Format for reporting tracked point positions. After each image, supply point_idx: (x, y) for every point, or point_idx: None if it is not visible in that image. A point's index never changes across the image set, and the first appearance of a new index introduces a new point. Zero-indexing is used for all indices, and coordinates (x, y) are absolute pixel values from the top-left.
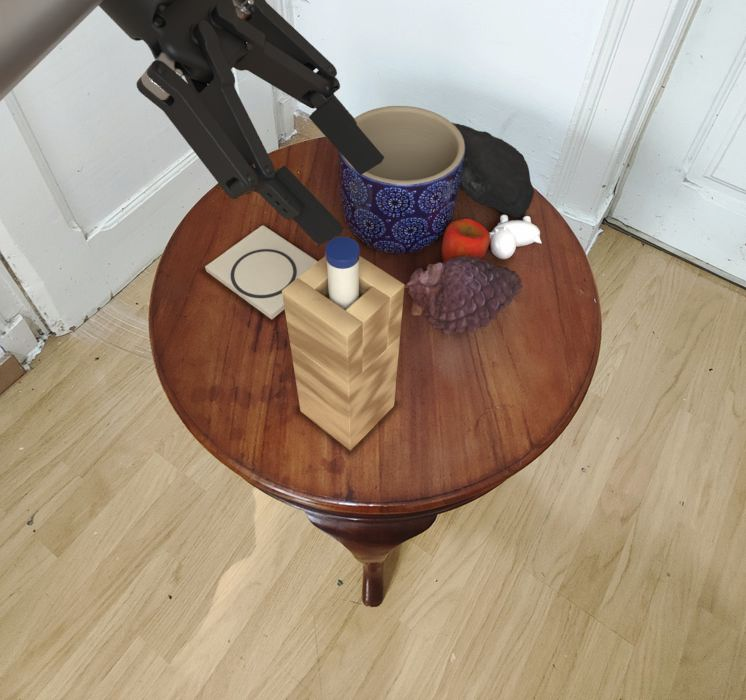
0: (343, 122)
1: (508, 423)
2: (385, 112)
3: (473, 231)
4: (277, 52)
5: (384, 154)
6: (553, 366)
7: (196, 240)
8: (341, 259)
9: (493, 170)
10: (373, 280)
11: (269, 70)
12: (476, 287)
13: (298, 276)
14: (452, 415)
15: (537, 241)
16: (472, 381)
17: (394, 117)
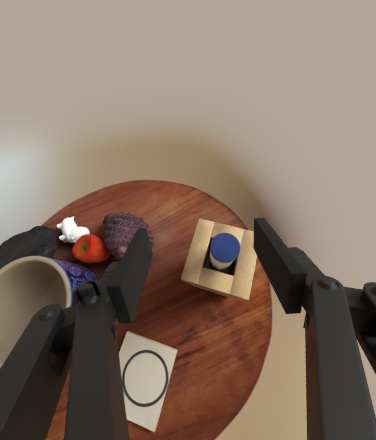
0: (132, 265)
1: (188, 200)
2: None
3: (82, 245)
4: (79, 427)
5: (17, 333)
6: (149, 192)
7: None
8: (237, 241)
9: (31, 243)
10: (205, 238)
11: (120, 424)
12: (131, 223)
13: (139, 349)
14: (195, 223)
15: (73, 218)
16: (172, 222)
17: None
